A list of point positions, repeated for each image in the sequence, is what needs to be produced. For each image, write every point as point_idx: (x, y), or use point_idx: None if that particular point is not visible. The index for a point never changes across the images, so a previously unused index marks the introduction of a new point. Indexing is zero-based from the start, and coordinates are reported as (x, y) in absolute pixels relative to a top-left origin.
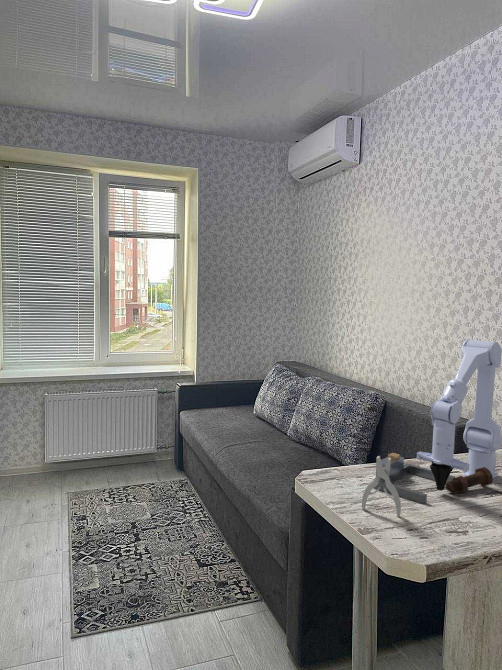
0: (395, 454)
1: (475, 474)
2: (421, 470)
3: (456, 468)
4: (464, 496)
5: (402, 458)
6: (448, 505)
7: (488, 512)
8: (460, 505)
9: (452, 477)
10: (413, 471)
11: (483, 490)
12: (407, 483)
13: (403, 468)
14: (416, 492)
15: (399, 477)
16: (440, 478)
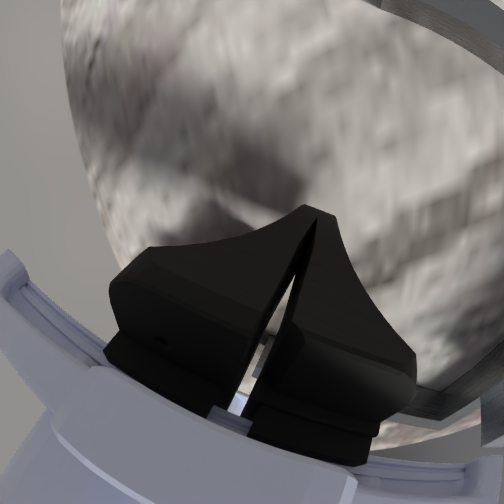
0: None
1: None
2: None
3: (66, 315)
4: (196, 234)
5: (494, 440)
6: (236, 49)
7: (86, 106)
8: (180, 96)
9: (260, 367)
10: (427, 400)
11: None
12: (487, 304)
13: (481, 397)
14: (475, 5)
15: (501, 346)
16: (283, 244)
